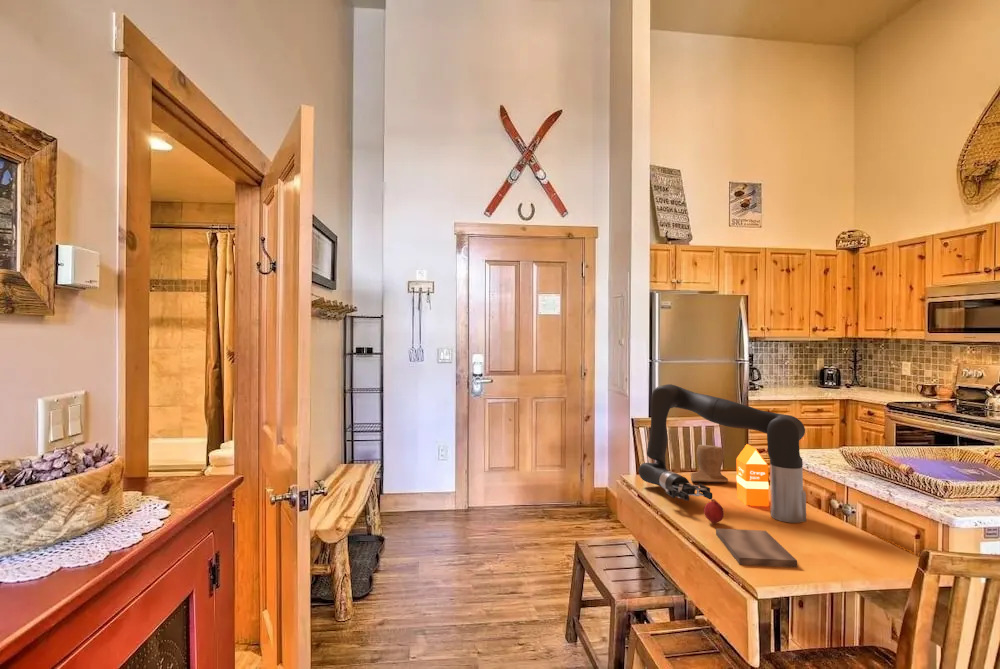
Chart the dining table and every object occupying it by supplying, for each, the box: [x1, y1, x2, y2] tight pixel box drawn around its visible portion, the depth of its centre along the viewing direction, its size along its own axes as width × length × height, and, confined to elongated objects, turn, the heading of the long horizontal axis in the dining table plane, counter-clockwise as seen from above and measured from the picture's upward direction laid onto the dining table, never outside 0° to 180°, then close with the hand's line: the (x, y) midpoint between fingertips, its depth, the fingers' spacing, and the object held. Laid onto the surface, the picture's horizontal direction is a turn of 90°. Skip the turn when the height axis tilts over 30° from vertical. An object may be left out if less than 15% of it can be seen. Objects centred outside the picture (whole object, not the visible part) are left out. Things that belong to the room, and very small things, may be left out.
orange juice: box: [735, 443, 770, 507], centre depth 177 cm, size 8×9×20 cm
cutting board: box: [715, 528, 798, 568], centre depth 136 cm, size 14×20×2 cm
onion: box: [703, 498, 725, 525], centre depth 155 cm, size 6×6×8 cm
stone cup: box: [690, 444, 729, 483], centre depth 204 cm, size 15×12×15 cm
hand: (699, 497), depth 163 cm, fingers open, 8 cm apart
